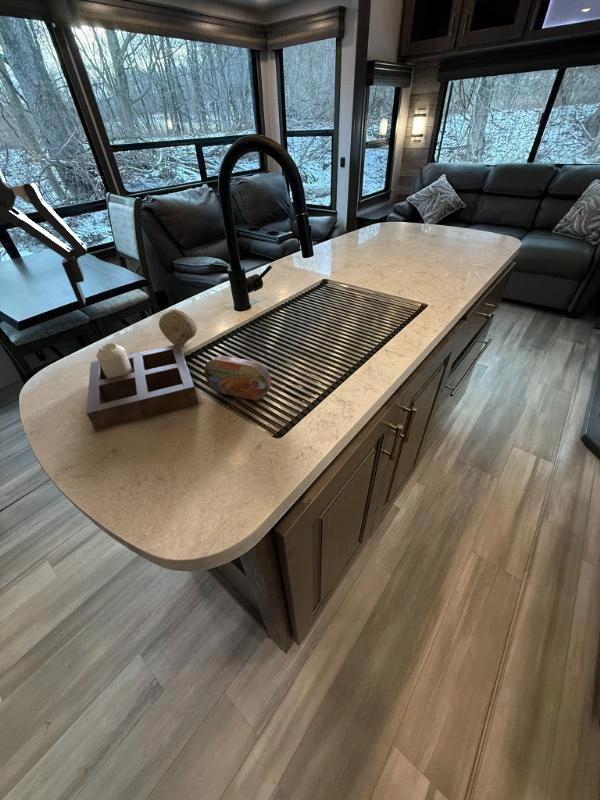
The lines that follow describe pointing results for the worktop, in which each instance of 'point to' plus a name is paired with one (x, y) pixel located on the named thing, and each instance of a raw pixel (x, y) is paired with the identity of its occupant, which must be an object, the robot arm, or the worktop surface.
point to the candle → (114, 360)
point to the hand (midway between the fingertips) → (34, 309)
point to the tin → (238, 377)
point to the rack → (140, 388)
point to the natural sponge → (177, 326)
